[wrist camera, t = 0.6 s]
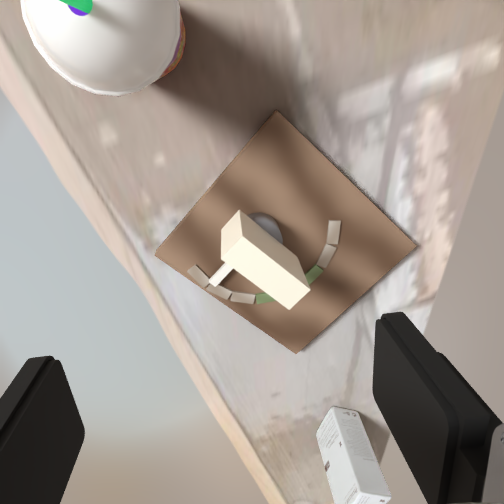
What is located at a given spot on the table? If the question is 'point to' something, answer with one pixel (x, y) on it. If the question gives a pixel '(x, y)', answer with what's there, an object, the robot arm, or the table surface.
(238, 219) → the pointer knob
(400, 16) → the table surface
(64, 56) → the smoothie
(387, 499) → the skincare box
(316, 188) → the tuner board
